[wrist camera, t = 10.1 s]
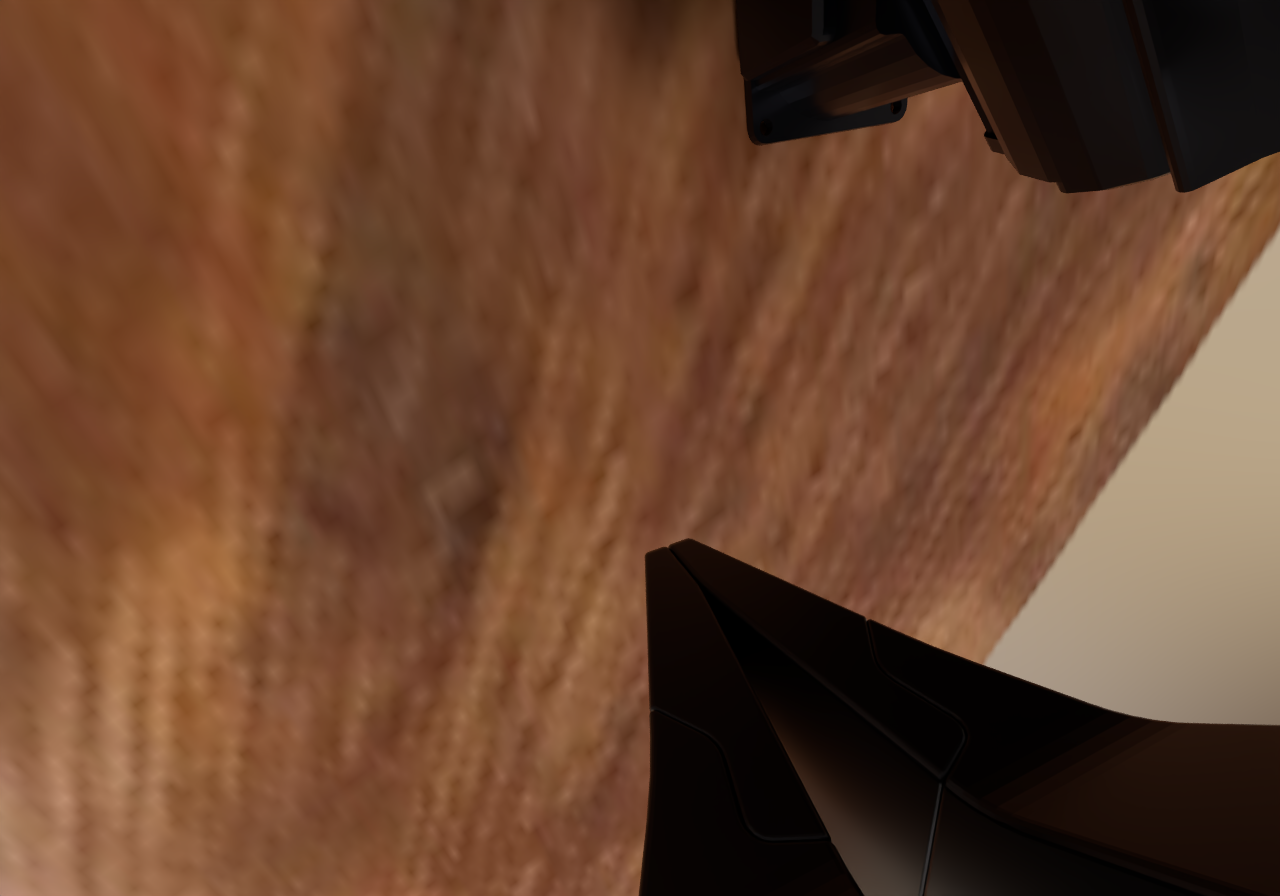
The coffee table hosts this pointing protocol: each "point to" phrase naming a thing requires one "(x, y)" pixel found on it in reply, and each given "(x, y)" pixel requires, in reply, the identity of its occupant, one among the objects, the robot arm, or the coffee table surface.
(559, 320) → the coffee table surface
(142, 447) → the coffee table surface
